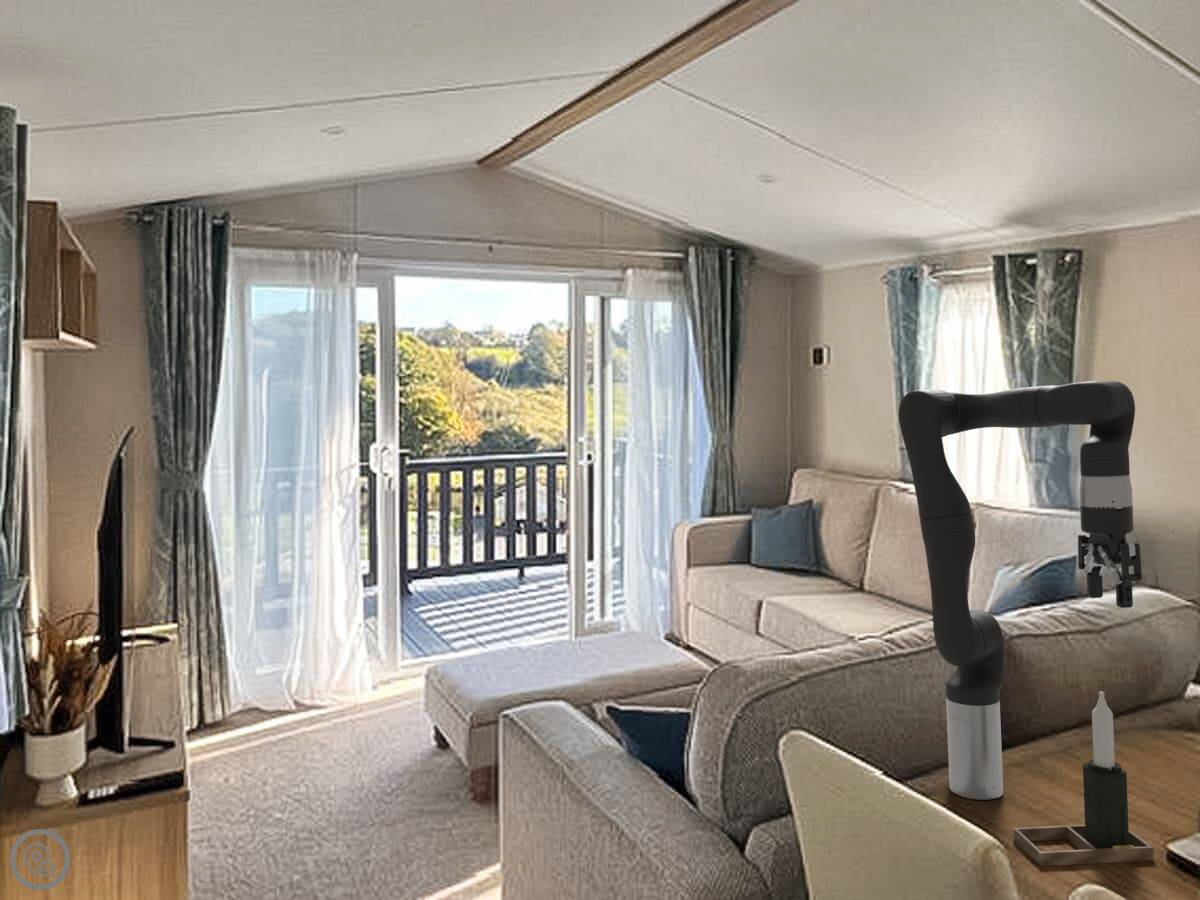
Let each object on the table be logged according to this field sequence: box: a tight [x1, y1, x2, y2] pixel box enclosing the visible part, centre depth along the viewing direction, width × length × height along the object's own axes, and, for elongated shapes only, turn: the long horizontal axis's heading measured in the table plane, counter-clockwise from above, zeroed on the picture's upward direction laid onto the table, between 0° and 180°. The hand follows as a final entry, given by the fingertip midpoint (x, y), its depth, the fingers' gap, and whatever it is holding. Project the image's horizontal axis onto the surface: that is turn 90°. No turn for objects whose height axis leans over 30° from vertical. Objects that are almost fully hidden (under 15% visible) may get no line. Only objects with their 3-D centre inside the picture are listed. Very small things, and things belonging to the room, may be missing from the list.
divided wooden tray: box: [1012, 824, 1155, 867], centre depth 146 cm, size 18×9×2 cm, turn 91°
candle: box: [1082, 691, 1130, 849], centre depth 146 cm, size 5×5×25 cm
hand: (1109, 602), depth 150 cm, fingers open, 8 cm apart
